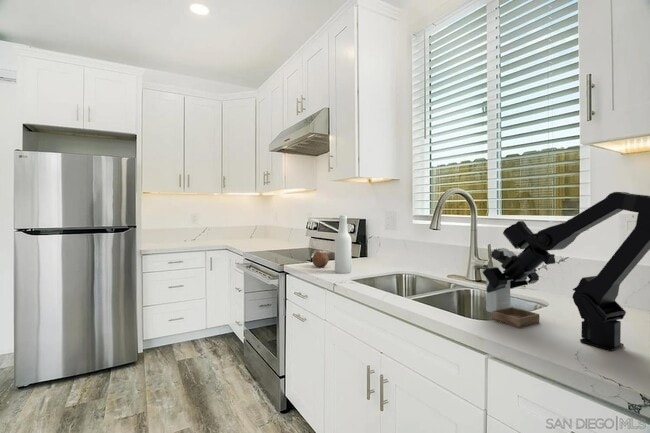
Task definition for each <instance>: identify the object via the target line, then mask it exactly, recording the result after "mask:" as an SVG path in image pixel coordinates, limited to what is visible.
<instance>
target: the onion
mask: <svg viewBox="0 0 650 433" xmlns="http://www.w3.org/2000/svg"><path fill="white" fill-rule="evenodd" d="M311 261H312V264H313V265H314V266H315V267H316V268H321V267H322V268H326V266H327V264H329V256H328V255H327V253H326V252H323V251H316V252H315V253H314V254H313V256H312V259H311Z"/></svg>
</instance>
